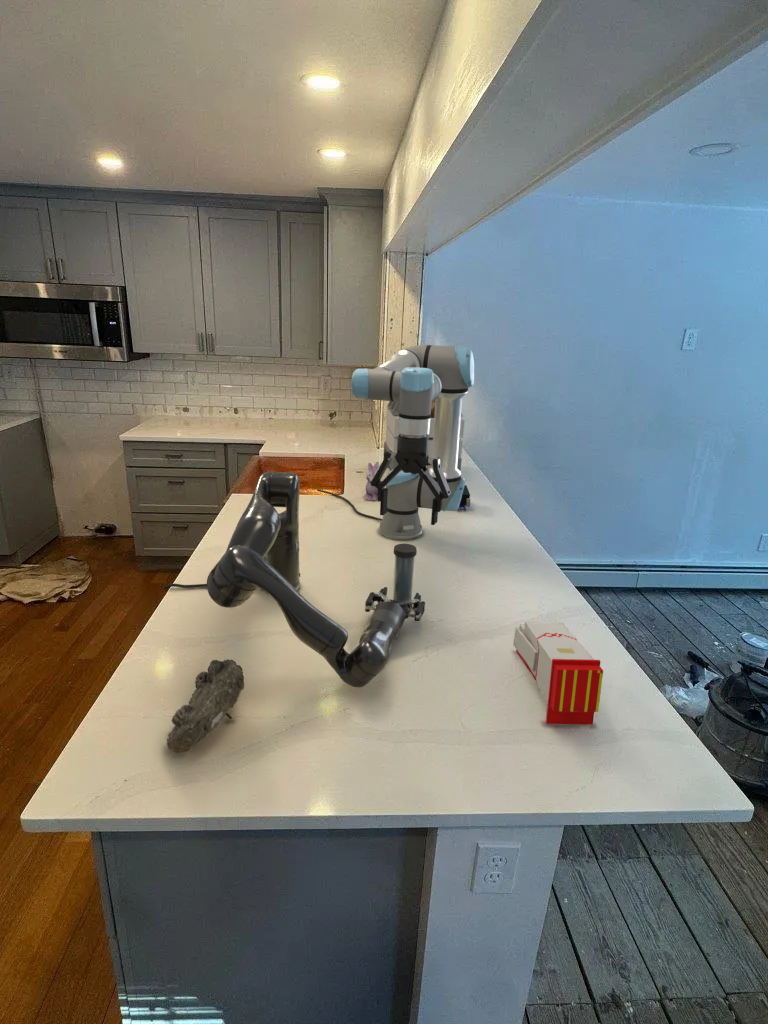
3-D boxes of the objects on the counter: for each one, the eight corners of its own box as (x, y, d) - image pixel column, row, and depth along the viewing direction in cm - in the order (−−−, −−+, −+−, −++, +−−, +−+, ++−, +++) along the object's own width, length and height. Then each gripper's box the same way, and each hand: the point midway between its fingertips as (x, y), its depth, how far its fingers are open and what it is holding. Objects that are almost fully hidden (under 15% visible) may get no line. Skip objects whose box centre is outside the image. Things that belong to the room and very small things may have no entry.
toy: (559, 606, 135) (612, 666, 105) (553, 658, 137) (604, 731, 108) (508, 605, 134) (547, 665, 105) (504, 658, 137) (541, 730, 108)
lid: (389, 550, 146) (389, 545, 146) (409, 547, 149) (410, 542, 148) (399, 559, 141) (400, 553, 141) (420, 556, 144) (420, 550, 143)
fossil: (192, 660, 117) (244, 628, 112) (224, 691, 120) (276, 661, 115) (142, 746, 98) (202, 712, 93) (182, 779, 101) (242, 748, 96)
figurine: (369, 502, 230) (370, 466, 225) (359, 494, 239) (360, 460, 234) (390, 499, 234) (391, 464, 229) (378, 492, 243) (380, 458, 238)
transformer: (382, 463, 289) (386, 382, 275) (445, 464, 293) (451, 384, 279) (390, 482, 257) (394, 392, 243) (460, 483, 261) (468, 394, 247)
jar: (389, 605, 151) (392, 547, 146) (405, 602, 153) (409, 544, 148) (397, 614, 147) (400, 554, 141) (414, 611, 149) (418, 551, 143)
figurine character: (470, 515, 225) (465, 499, 238) (472, 498, 221) (467, 483, 235) (453, 515, 224) (449, 499, 238) (455, 497, 221) (451, 482, 234)
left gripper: (355, 632, 135) (374, 601, 149) (413, 643, 131) (427, 610, 146) (356, 604, 132) (376, 575, 147) (416, 615, 129) (430, 584, 144)
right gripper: (468, 438, 133) (460, 522, 141) (372, 426, 142) (369, 505, 150) (459, 444, 127) (451, 532, 134) (359, 431, 136) (356, 514, 143)
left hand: (401, 593), depth 146 cm, fingers open, 8 cm apart
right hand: (408, 518), depth 142 cm, fingers open, 13 cm apart
